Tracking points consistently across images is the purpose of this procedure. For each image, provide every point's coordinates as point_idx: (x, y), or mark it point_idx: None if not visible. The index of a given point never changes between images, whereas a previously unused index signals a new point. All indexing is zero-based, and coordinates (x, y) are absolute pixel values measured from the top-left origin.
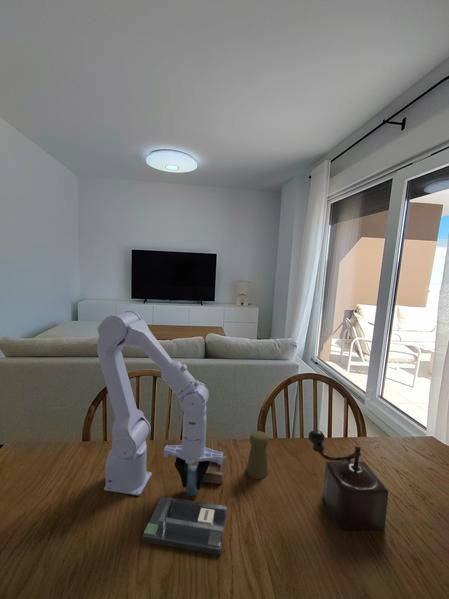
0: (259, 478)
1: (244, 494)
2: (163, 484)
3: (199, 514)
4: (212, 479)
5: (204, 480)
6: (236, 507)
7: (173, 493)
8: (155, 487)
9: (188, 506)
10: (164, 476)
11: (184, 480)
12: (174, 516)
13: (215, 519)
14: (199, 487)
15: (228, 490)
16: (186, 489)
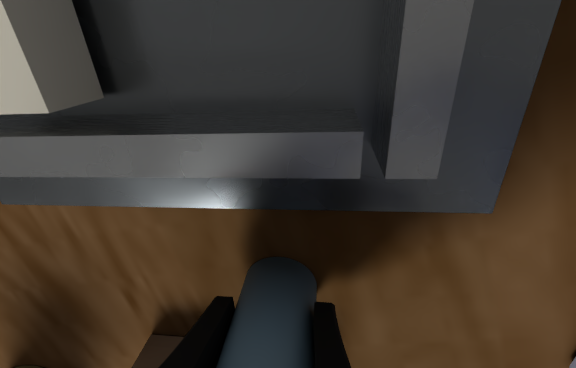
0: (23, 366)
1: (27, 295)
2: (472, 312)
3: (7, 16)
4: None
5: None
6: (12, 223)
7: (391, 262)
8: (528, 289)
9: (199, 126)
10: (475, 357)
11: (318, 358)
12: (320, 33)
13: None
14: (206, 310)
15: (105, 307)
16: (307, 291)
